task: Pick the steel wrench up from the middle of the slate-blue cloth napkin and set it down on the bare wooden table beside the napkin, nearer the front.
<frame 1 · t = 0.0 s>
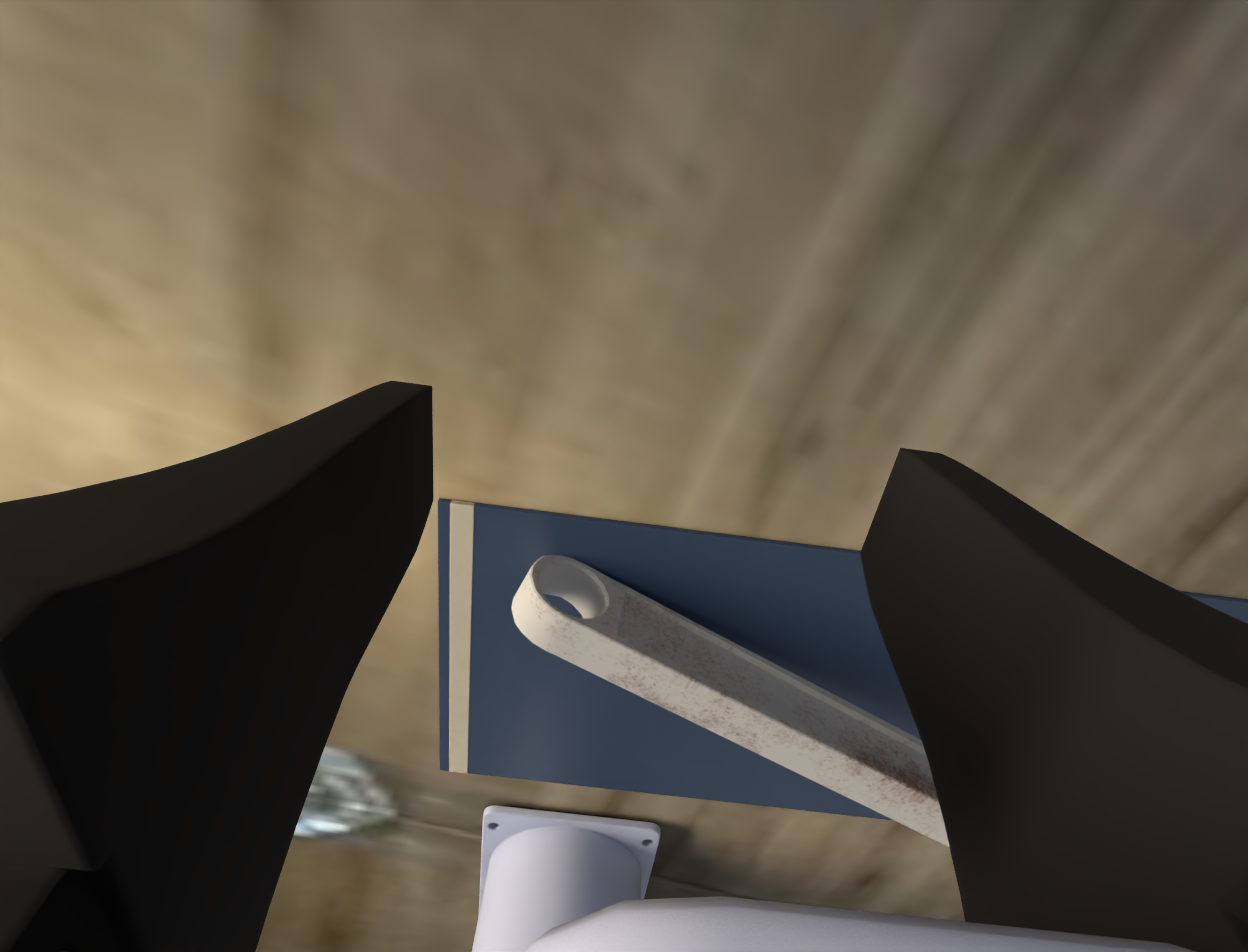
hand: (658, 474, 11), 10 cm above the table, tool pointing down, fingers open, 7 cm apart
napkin: (874, 701, 28), on the table
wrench: (874, 701, 28), resting on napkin
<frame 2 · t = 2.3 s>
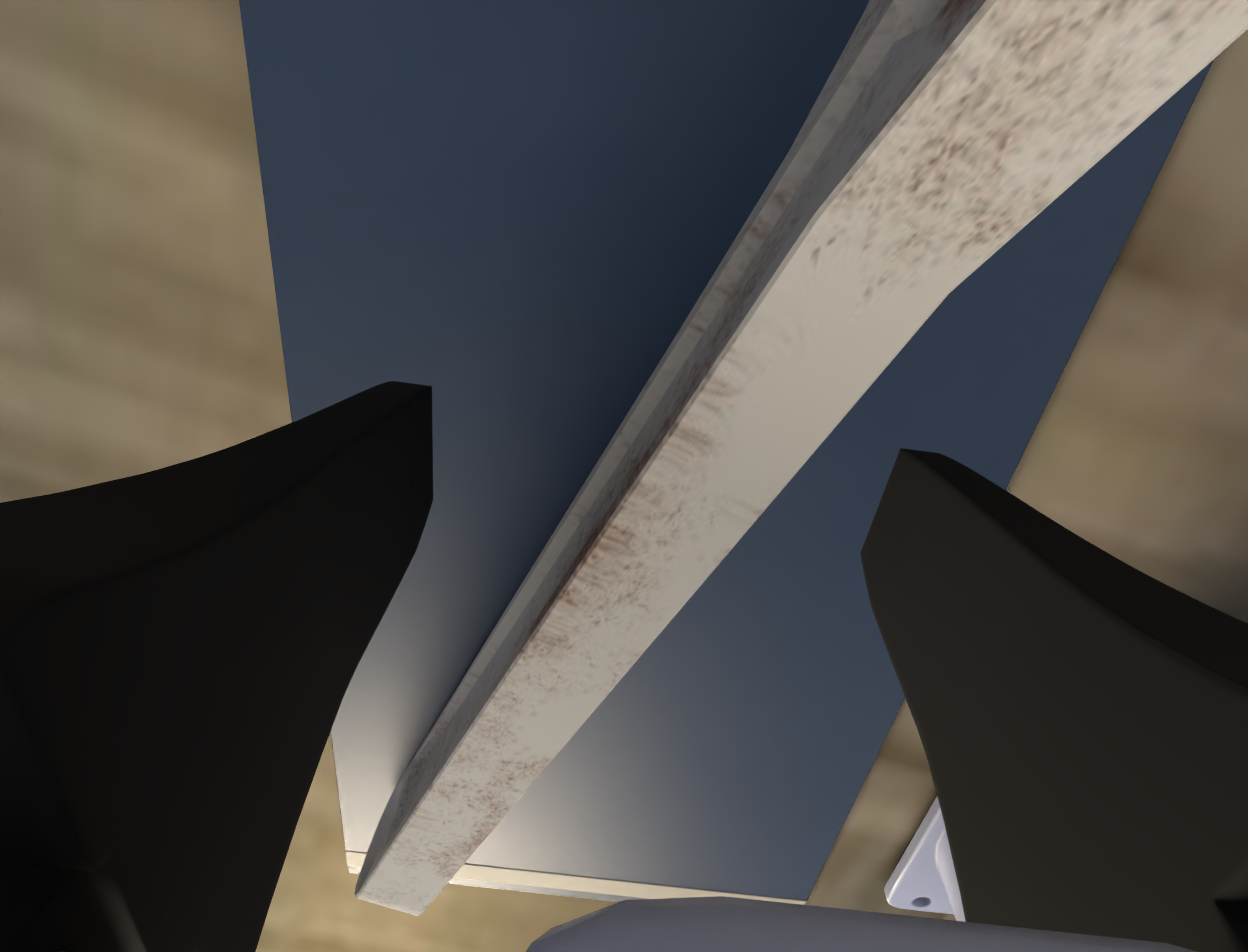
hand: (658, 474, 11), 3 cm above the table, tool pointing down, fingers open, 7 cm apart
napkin: (660, 400, 13), on the table
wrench: (660, 400, 13), resting on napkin
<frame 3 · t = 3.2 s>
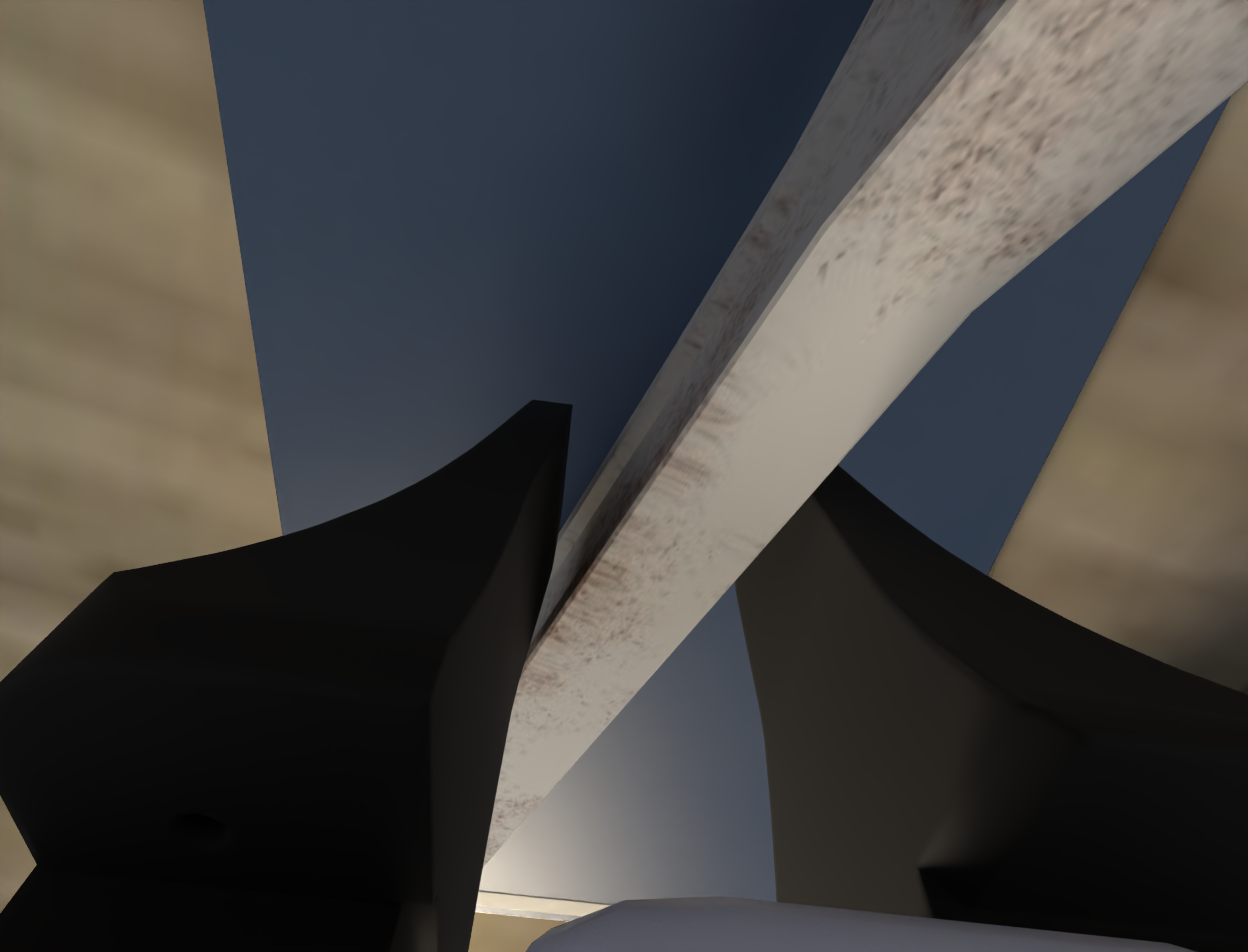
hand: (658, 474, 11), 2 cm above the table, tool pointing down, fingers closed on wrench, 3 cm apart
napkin: (657, 416, 13), on the table
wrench: (656, 416, 13), resting on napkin, touching gripper
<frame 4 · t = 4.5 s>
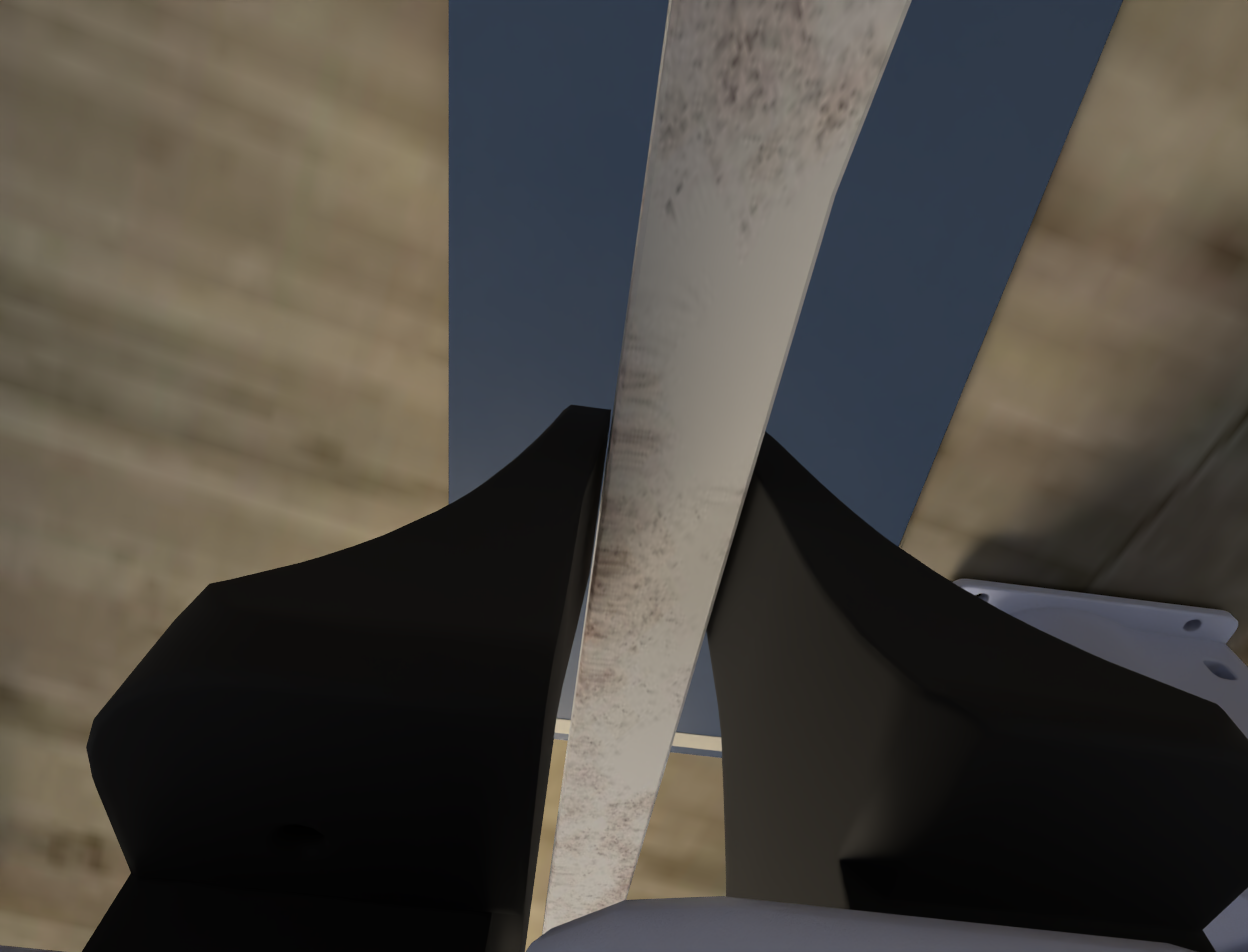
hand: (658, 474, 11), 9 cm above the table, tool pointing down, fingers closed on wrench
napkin: (714, 325, 19), on the table
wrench: (660, 399, 13), point 7 cm above the table, touching gripper
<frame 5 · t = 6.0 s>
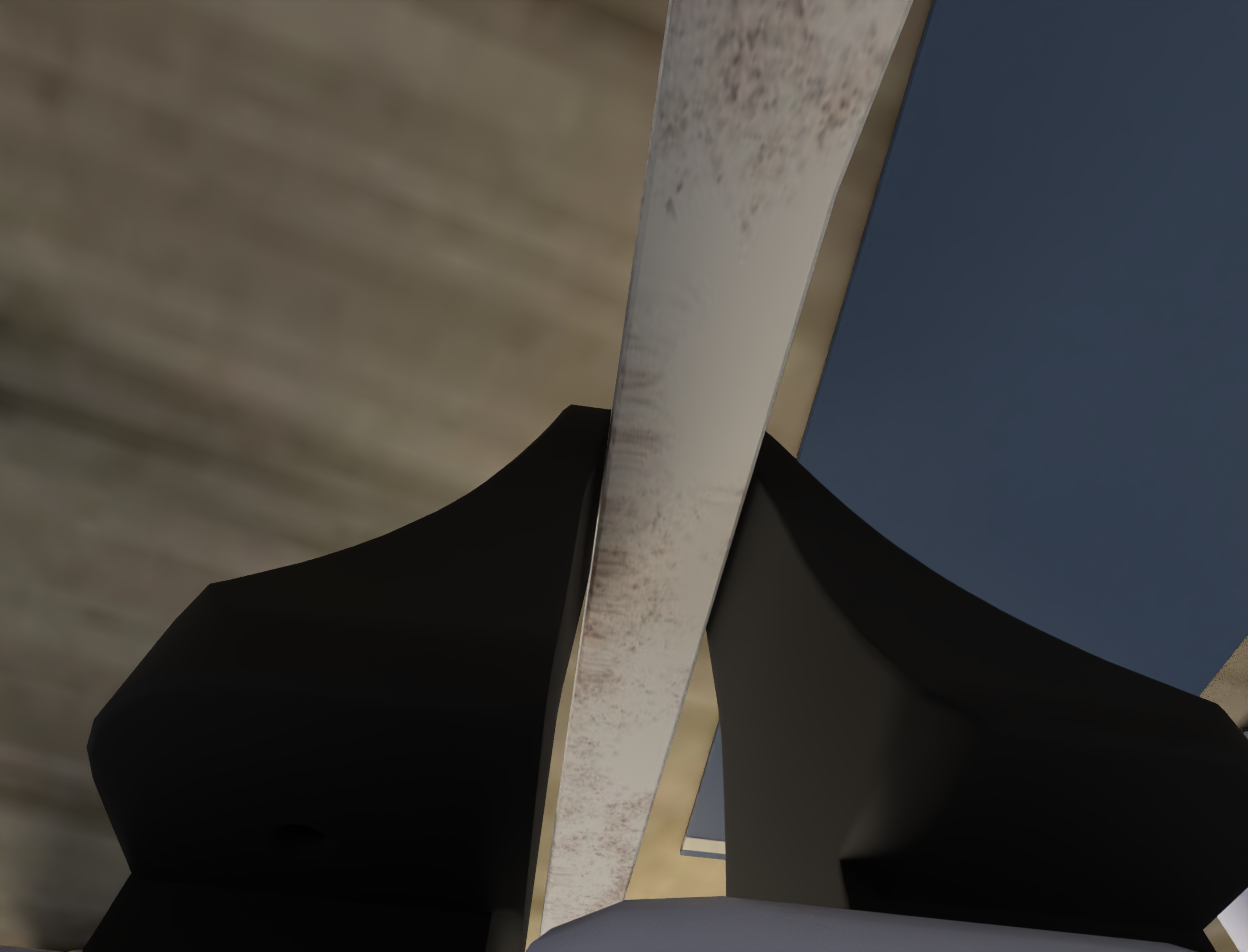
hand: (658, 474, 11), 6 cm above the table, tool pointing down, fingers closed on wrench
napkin: (1059, 501, 18), on the table
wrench: (659, 398, 13), point 4 cm above the table, touching gripper
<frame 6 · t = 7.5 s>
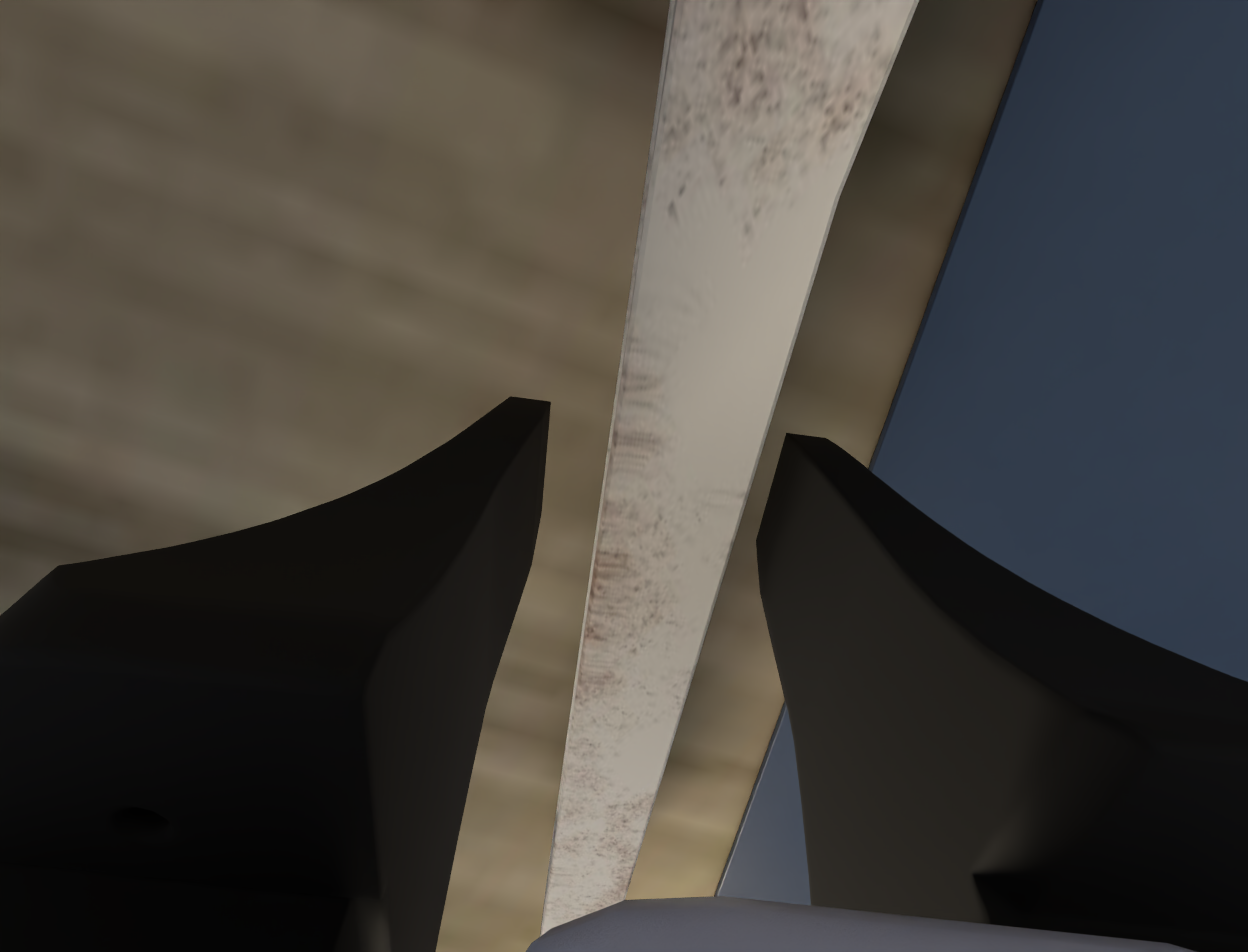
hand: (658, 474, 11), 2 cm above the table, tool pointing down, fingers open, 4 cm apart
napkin: (1161, 615, 15), on the table
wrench: (659, 399, 13), on the table
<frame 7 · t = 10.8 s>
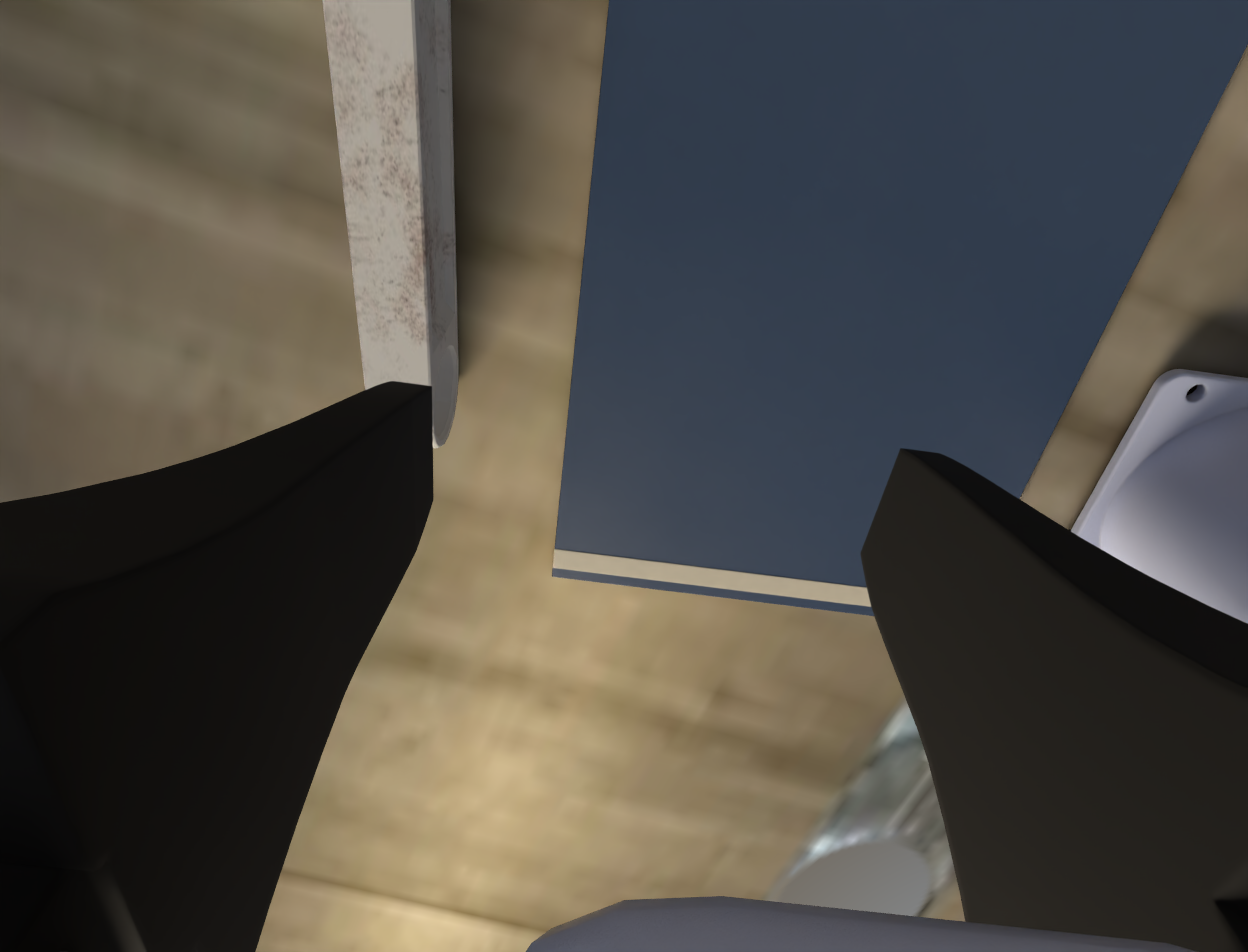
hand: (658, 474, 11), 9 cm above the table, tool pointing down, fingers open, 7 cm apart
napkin: (928, 12, 16), on the table
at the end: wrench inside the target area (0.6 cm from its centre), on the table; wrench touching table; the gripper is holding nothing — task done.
